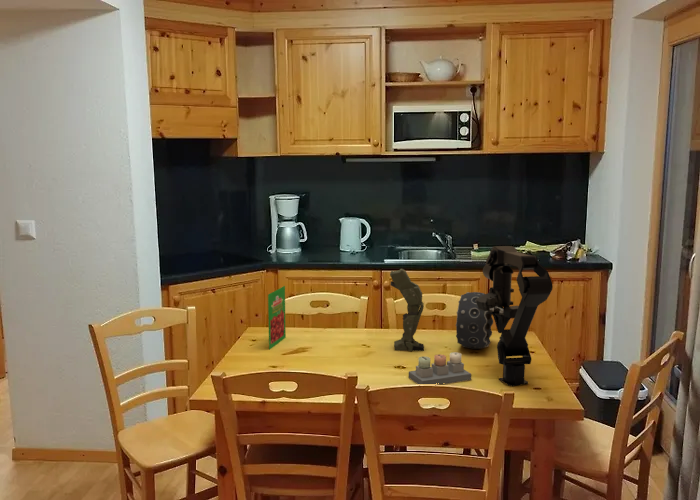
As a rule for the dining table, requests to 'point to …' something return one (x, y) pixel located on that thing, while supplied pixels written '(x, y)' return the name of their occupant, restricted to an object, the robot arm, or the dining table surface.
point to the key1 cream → (455, 357)
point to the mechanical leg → (411, 319)
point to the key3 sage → (424, 362)
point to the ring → (473, 322)
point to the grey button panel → (440, 374)
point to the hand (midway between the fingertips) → (500, 332)
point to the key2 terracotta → (440, 360)
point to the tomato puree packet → (276, 316)
